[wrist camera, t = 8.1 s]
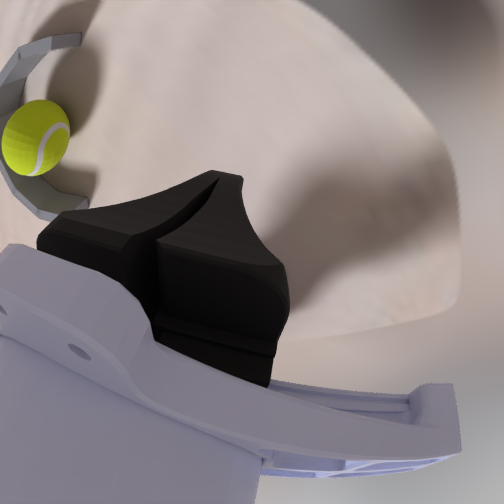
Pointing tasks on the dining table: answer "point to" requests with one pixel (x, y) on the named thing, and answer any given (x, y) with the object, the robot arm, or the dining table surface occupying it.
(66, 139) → the tennis ball
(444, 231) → the dining table surface
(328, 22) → the dining table surface
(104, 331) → the robot arm
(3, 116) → the catch ring
